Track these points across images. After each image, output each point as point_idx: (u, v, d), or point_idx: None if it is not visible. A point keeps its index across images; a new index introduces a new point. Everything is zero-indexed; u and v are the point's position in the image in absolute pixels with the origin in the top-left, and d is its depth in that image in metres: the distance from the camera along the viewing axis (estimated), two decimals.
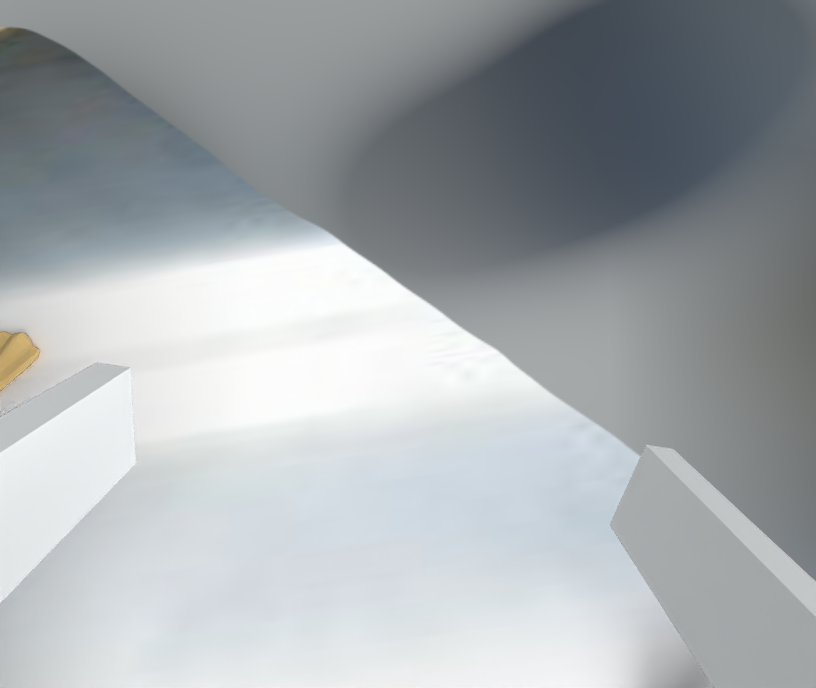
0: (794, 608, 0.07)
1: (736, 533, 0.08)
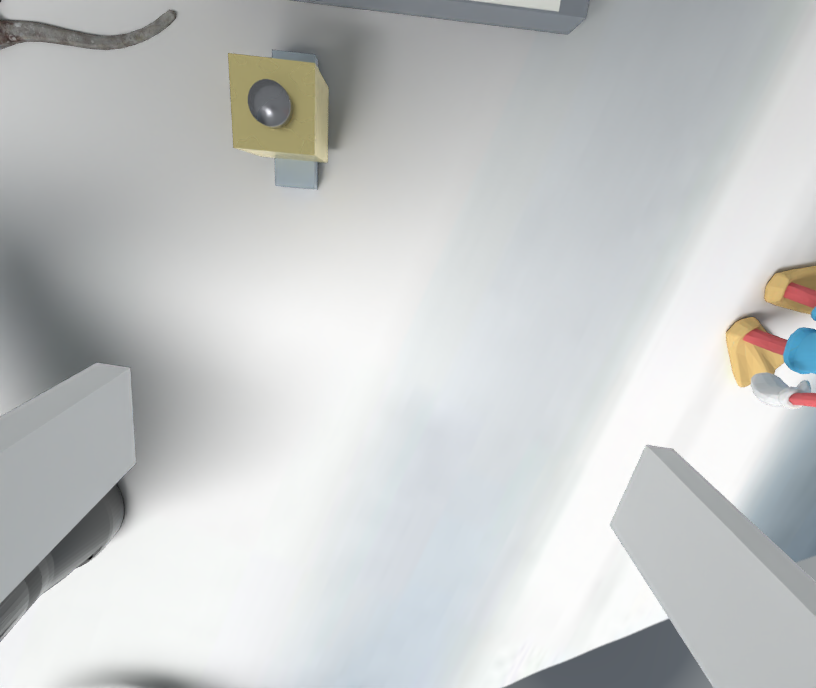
0: (794, 608, 0.07)
1: (736, 533, 0.08)
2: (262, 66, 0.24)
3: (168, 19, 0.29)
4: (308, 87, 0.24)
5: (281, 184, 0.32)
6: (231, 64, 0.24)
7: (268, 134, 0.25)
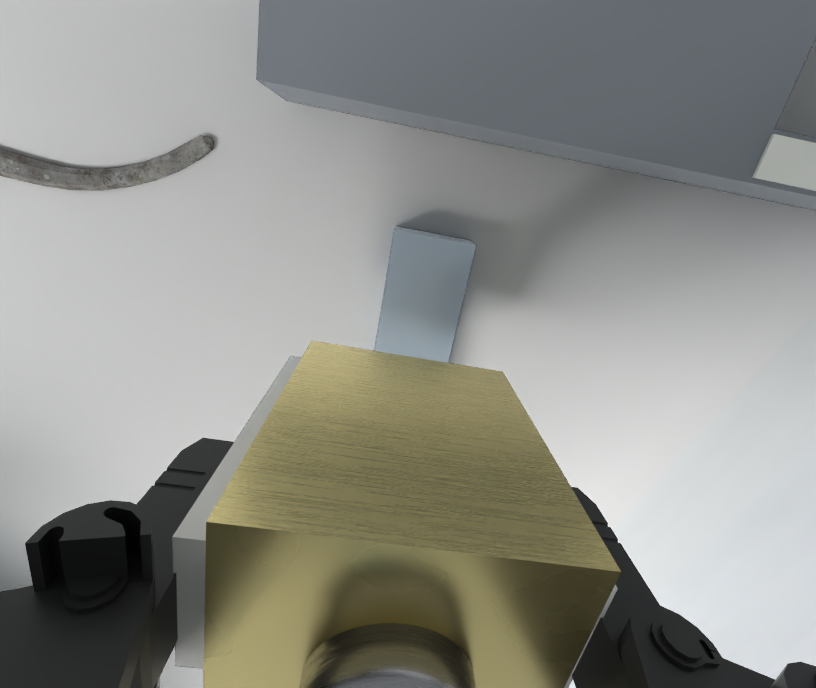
0: None
1: None
2: (371, 572, 0.05)
3: (197, 152, 0.15)
4: (559, 640, 0.05)
5: None
6: (219, 556, 0.05)
7: None
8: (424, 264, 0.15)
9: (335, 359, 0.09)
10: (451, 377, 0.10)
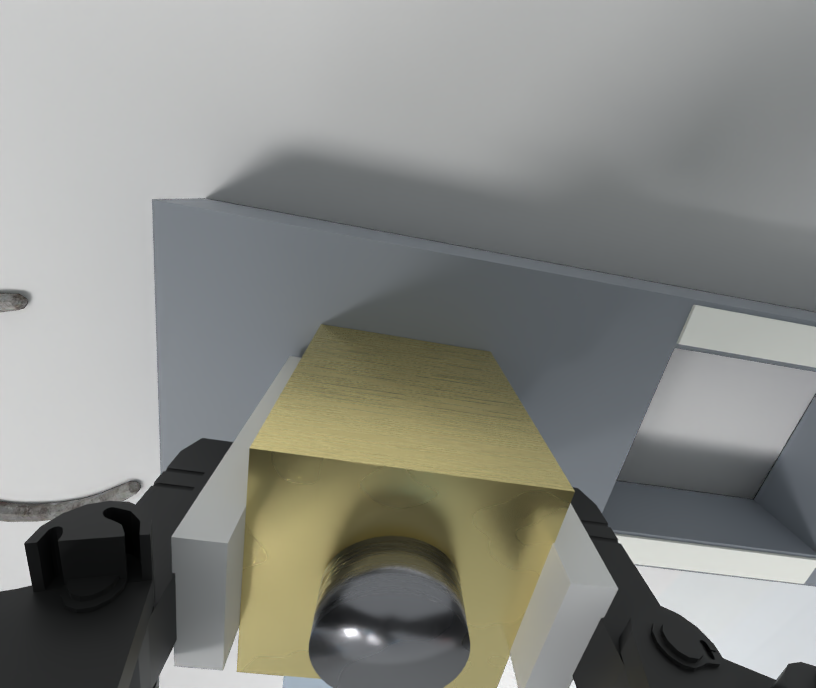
0: None
1: None
2: (378, 490, 0.06)
3: (124, 497, 0.17)
4: (528, 551, 0.07)
5: None
6: (258, 478, 0.06)
7: None
8: None
9: (342, 339, 0.11)
10: (444, 355, 0.11)
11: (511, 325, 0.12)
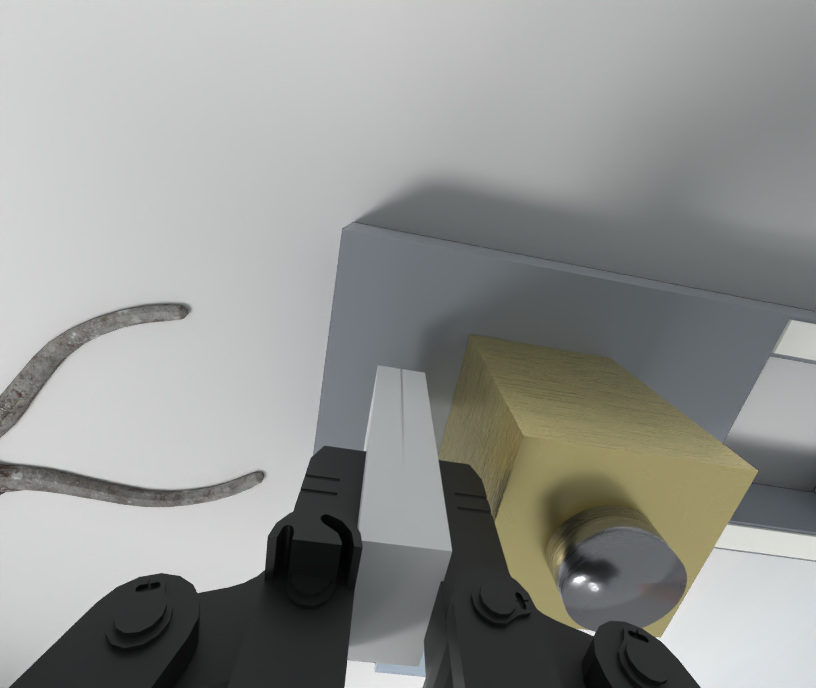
0: None
1: (407, 420, 0.10)
2: (610, 469, 0.08)
3: (251, 486, 0.19)
4: (713, 518, 0.09)
5: (383, 671, 0.22)
6: (522, 459, 0.08)
7: None
8: None
9: (497, 347, 0.13)
10: (581, 361, 0.13)
11: (631, 336, 0.14)
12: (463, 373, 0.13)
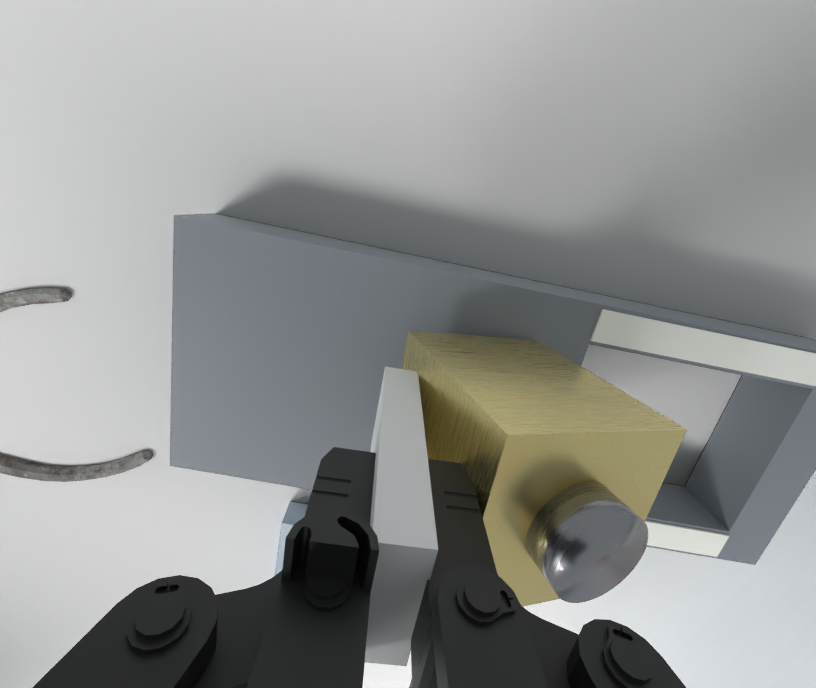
0: None
1: (397, 419, 0.09)
2: (579, 451, 0.09)
3: (139, 463, 0.20)
4: (654, 476, 0.10)
5: None
6: (506, 457, 0.08)
7: (540, 576, 0.10)
8: None
9: (440, 342, 0.12)
10: (514, 346, 0.13)
11: (454, 321, 0.15)
12: None
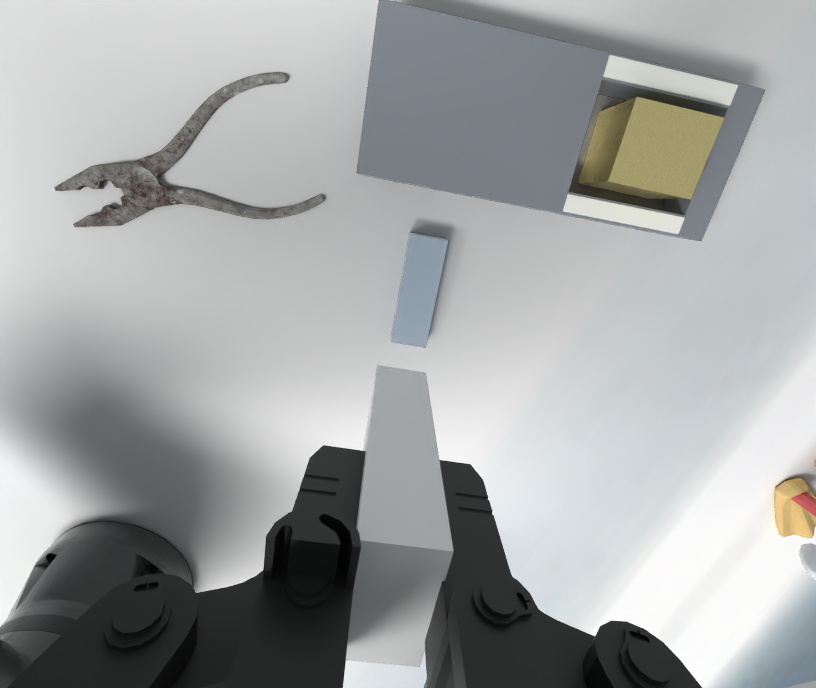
0: None
1: (408, 420, 0.10)
2: None
3: (317, 202, 0.31)
4: None
5: (396, 341, 0.34)
6: (718, 127, 0.26)
7: None
8: (424, 250, 0.31)
9: None
10: None
11: (527, 65, 0.26)
12: (637, 120, 0.26)
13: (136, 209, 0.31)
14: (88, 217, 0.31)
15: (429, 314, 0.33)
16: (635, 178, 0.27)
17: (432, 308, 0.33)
